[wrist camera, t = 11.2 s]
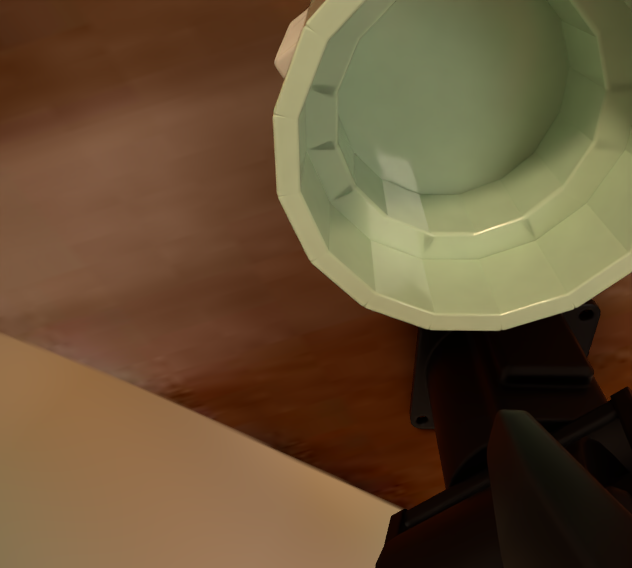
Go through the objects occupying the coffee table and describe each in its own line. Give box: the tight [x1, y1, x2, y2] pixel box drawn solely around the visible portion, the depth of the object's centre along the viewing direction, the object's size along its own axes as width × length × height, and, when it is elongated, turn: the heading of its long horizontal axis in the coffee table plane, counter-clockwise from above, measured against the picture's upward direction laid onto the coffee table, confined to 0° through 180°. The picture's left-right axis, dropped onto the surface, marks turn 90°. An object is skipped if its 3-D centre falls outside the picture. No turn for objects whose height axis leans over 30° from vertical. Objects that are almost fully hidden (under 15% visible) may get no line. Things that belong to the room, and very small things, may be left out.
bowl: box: [272, 0, 632, 331], centre depth 11 cm, size 7×7×4 cm
